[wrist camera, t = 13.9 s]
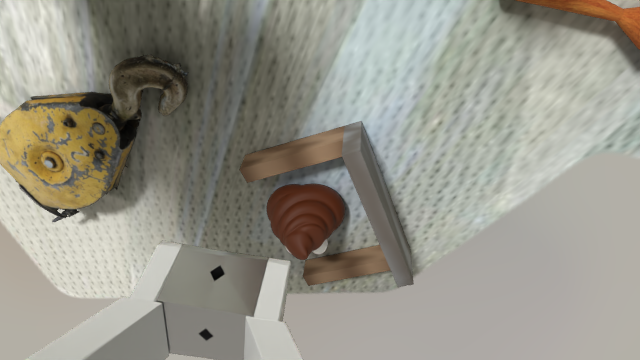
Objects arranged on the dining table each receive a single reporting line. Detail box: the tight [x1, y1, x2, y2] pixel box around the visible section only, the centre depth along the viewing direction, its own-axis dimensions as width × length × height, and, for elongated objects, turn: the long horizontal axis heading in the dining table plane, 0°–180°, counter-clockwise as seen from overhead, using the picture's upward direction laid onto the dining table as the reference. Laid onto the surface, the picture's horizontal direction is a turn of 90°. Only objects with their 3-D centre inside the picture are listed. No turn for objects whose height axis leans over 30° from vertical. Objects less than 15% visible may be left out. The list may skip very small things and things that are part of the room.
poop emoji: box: [267, 184, 345, 260], centre depth 54 cm, size 10×8×9 cm
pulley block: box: [0, 55, 188, 222], centre depth 52 cm, size 14×6×30 cm
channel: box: [239, 121, 413, 287], centre depth 55 cm, size 15×21×6 cm
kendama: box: [517, 0, 640, 50], centre depth 39 cm, size 6×6×20 cm
